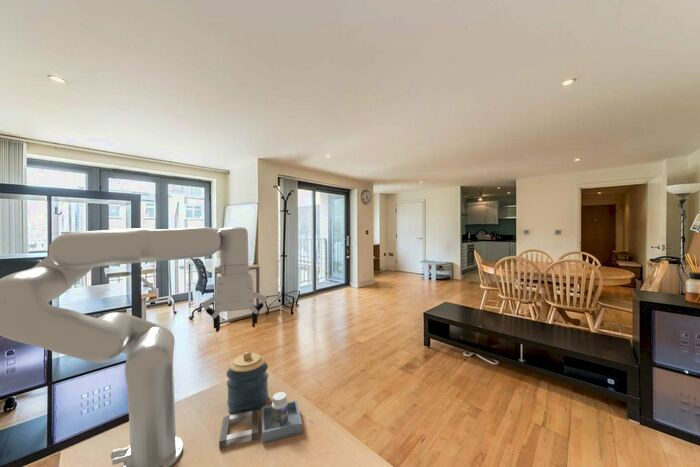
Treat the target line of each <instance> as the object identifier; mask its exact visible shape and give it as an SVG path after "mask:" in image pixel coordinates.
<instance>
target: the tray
mask: <svg viewBox="0 0 700 467" xmlns="http://www.w3.org/2000/svg"><path fill="white" fill-rule="evenodd" d="M260 410H261V413H260V414H261V440H262V441H261V442H262V444H266V443H269V442H273V441H278V440H282V439H284V438H285V439H286V438H289V437H293V436H296V435H301V434H303V422H302V421H303V420H302V418H301V413H300V409H299V404H298V400H297V399H296V400H291V401H288V423H287V424H286V425H285V426H281V427H277V428H274V427H273V426H272V405H268V406H264V407H262V408H261V409H260Z"/></svg>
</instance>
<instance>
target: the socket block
mask: <svg viewBox="0 0 700 467" xmlns="http://www.w3.org/2000/svg"><path fill="white" fill-rule="evenodd" d="M249 422H251V428H250V429H246V430H243V431H238V432H234V433H230V434H229V432H230V426H231V427H232V426H235V425H236V426H237V425H240V424H243V423H249ZM221 424H222V425H221V429H220V435H219V440H218V442H219V443H218V444H219V446H218V447H219V448H218V449H223V448H224V449H225V448H228V447H232V446H236V445H240V444H244V443H247V442H253V441H257V440H259V410H253V411H249V412H244V413H240V414H230V415H227V416H223V418H222V423H221Z"/></svg>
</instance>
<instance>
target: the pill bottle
mask: <svg viewBox="0 0 700 467" xmlns="http://www.w3.org/2000/svg"><path fill="white" fill-rule="evenodd" d="M287 399H288V398H287V393H286V392H285V391H279V392H276V393H274V394H273V396H272V403H271V406H272V426H273V427H274V428H277V427H281V426H285V425H286V424H287V423H288V402H289V401H288V400H287Z"/></svg>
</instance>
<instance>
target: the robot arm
mask: <svg viewBox="0 0 700 467" xmlns="http://www.w3.org/2000/svg"><path fill="white" fill-rule="evenodd" d="M217 252H219V256H220V257H219V259H220V260H219V262H220V263H219V266H215V267H214V272H216V273H217V272H218V273H219V275H217V278H216V283H215V284H216V286H215V295H213V296H211V297H210V298H208V299H207V300H204V301H203V302H202V304H201V306H202V308H203V310H205V312H206V314H207V315H209V316H210V317H211V318H212V319H213V320H212V321H213V329H215V333H218V332H220V330H221V315H220V313H222V312H223V313H224V312H232V311H233V312H234V311H243V310H244V311H245V310H251V316H252V317H251V326H252V327H251V328H256V324H258V314H259V311H260V310H262V308H263V307H264V305H265V303H266V301H267V300H268V299H267V296H266V295H264V294H261V293H258V292H256V291H255V290H254V281H253V276H252V273H251V272H249V271H250V270H249V232H248V229H247V228H245V227H239V226H237V227H236V226H231V227H229V226H228V227H222V228H220V227H219V228H218V227H209V226H199V227H187V228H186V227H185V228H169V229H168V228H167V229H160V228H159V229H158V228H157V229H155V228H153V229H152V228H142V227H141V228H140V227H139V228H123V229H122V228H121V229H103V230H101V229H100V230H86V231H85V230H84V231H71V232H67V233H62V234H60V235H58V236H57V237H55V238H54V239H53V240H52V241H51V242H50V244H49V247H48V255H47V256H46V257H45V258H43V259H42V260H41V261H39V262H38V263H37V264H36V265H34V266H33V267H31V268H29V269H24V270H20V271H17V272H13V273H11V274H7V275H5V276H3V277H1V278H0V336H1V337H3V338H5V339H7V340H11V341H15V342H18V343H21V344H26V345H29V346H33V347H38V348H41V349H45V350H48V351H51V352H54V353H58V354H61V355H65V356H68V357H72V358H75V359H80V360H82V361H86V362H89V363H94V364H105V363H108V362H111V361H112V360H115V359H116V358H117V357H119V356H120V355H121V354H122V353H123V354H126V355H127V357H126V361H125V365H124V375H125V383H126V389H127V403H128V405H127V407H128V419H129V420H128V422H129V444H128V446H127V447H120V448H117V449H113V450H112V451H111V454H110V459H111V460H112V461H111V462H112V463H111V465H112V466H113V465H117V464H120V463H124V464H123V465H122V467H172V466H173V465H174V464H175V463H176V462H177V461H178V460H179V458H180V457H181V455H182V454H183V449H184V445H183V440H182V439H181V438H180V437H177V435H176V434H177V432H176V430H177V429H176V410H175V409H176V404H175V403H176V401H175V383H174V382H175V378H174V352H175V351H174V350H175V337H174V334H173V332H172V331H171V330H170V329H168V327H164V326H162V325H160V324H157V323H155V322H151V321H149V320H146V319H143V318H141V317H138V316H135V315H132V314H129V313H125V312H118V311H117V312H107V313H105V314H103V315H100V316H99V317H93V316H91V315H88V314H84V313H81V312H79V311H76V310H73V309H68V308H65V307H64V308H63V307H57V306H53V305H51V304H50V302H51V301H53V300H55V299H57V298H59V297H60V296H62V295H63V294H64V293H66V292H67V291H68V290H69V289H71V288H72V287H73V286H74V285H75V284H76V283H77V282H79V281H80V280H81V279H83V277H85V276H86V275H88V273H90V272H91V271H92V270H93V269H94V268H98V267H107V266H119V265H129V264H138V263H139V264H141V263H152V262H161V261H173V260H174V261H175V260H176V261H177V260H186V259H194V258H204V257H210V256H212V255H215V253H217ZM255 299H258V300H260V302H259V303H257V305H256V304H255ZM212 303H215V309H213V308H212V307H211V306H210V304H212Z"/></svg>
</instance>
